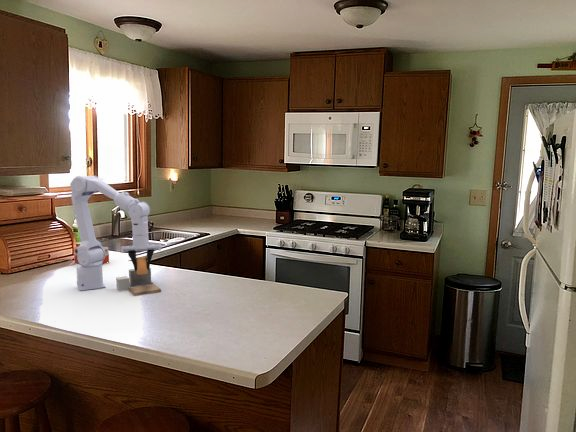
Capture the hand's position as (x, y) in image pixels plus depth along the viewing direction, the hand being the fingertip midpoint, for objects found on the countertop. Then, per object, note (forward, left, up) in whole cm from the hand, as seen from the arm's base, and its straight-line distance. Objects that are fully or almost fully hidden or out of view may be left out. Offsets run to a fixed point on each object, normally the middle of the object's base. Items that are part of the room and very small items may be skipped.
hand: (142, 269), depth 182 cm
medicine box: (-9, +65, -9) cm, 66 cm away
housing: (+2, +11, -9) cm, 14 cm away
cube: (-6, +8, -9) cm, 13 cm away
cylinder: (0, 0, -1) cm, 1 cm away
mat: (+1, 0, -9) cm, 9 cm away
